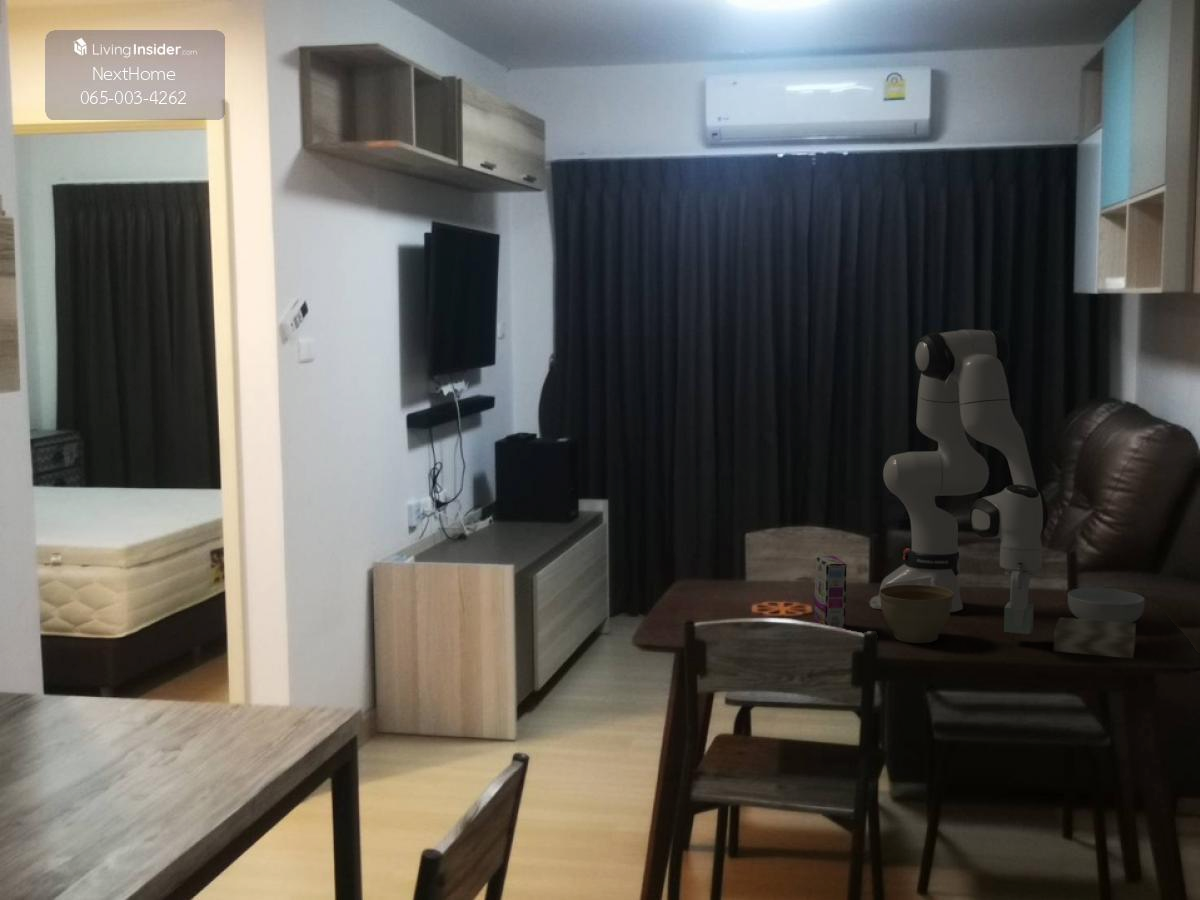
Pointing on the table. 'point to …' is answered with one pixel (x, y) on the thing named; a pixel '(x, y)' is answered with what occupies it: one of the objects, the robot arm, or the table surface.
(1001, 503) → the robot arm
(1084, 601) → the cereal bowl
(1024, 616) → the sage block
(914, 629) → the planter bowl
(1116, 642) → the birch riser
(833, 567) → the candy bar box
